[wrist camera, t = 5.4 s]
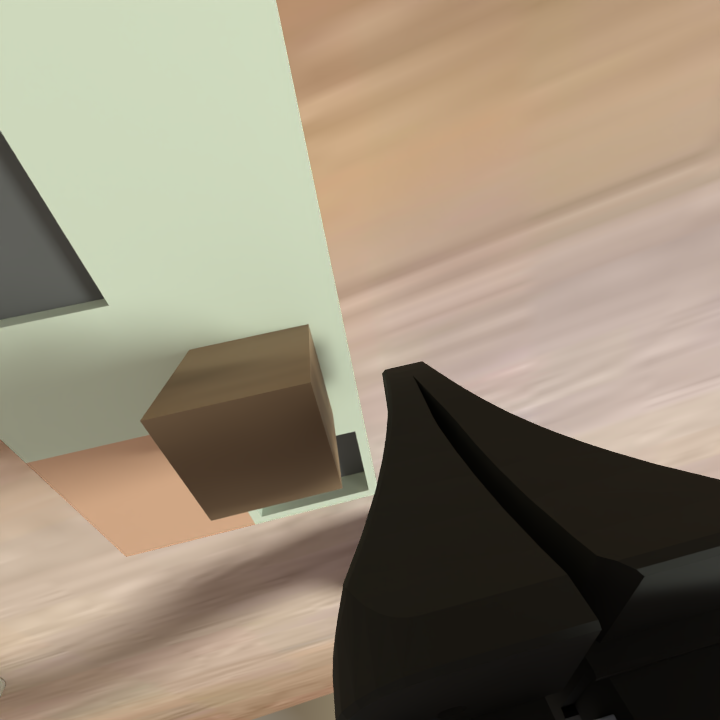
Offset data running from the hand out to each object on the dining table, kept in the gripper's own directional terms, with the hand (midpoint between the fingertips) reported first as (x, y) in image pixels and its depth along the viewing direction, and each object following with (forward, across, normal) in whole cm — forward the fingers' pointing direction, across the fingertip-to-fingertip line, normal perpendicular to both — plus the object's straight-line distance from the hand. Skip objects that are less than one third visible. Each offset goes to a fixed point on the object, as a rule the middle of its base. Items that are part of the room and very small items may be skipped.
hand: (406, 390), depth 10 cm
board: (+4, +8, -1) cm, 10 cm away
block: (+3, +5, 0) cm, 6 cm away
